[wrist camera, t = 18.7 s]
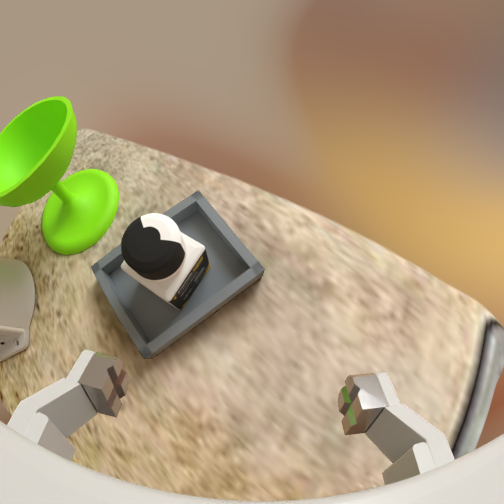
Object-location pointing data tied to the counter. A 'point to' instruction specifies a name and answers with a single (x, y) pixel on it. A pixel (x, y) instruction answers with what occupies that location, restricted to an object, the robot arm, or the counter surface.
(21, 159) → the wineglass
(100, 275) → the parts tray
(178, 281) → the medicine bottle
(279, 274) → the counter surface
